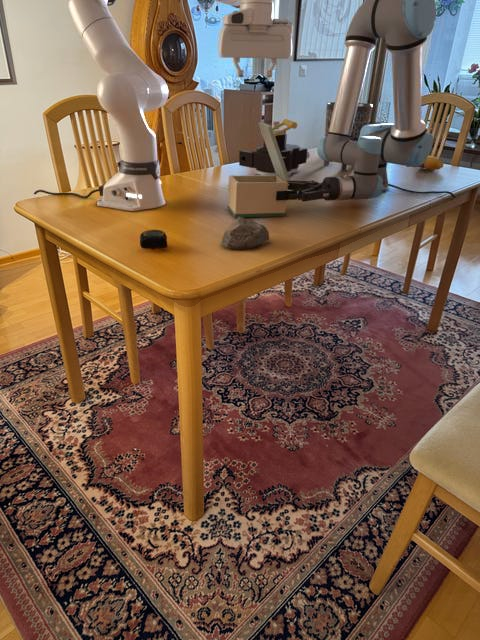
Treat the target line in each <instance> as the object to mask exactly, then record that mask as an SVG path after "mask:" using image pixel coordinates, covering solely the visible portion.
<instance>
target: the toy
mask: <svg viewBox="0 0 480 640" xmlns="http://www.w3.org/2000/svg"><path fill="white" fill-rule="evenodd" d="M444 165H445V164H444V163H443V162H441V161H439V159H438V158H437V157H435V156H433V155H429V156H428V157H427V159H426V161H425V162H424V163H423V164H422V165H421V166H419V167H418V168H421V169H425V170H427V171H429V172H434V171H438V170H440V169H443V167H444Z"/></svg>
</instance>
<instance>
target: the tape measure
mask: <svg viewBox="0 0 480 640" xmlns="http://www.w3.org/2000/svg"><path fill="white" fill-rule="evenodd" d="M167 236H168V235H167V234H166V232H165V231H164V230H161V229H147V230H144V231H143V232H141V233H140V235H139V240H140V241H139V245H140V246H139V247H141V248H142V249H146V250H157V249H167V248H168V240H167V239H168V237H167Z"/></svg>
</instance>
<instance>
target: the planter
mask: <svg viewBox="0 0 480 640" xmlns="http://www.w3.org/2000/svg"><path fill="white" fill-rule="evenodd" d="M334 105H335V101H333V102H327V103H326V109H325V124H324V125H325V126H324V137H327V136H328V132H329V128H330V123H331V119H332V114H333V109H334ZM373 107H374V106H373V104H372V103H367V102H359V103H358V107H357V111H356V115H355V119H354V123H353V128H352V132H351V136H350V140H351V141H358V139H359V136H360V132H361V128H362V127H363V126H365V125H370V121H371V116H372V112H373ZM330 163H331V162H330V161H327V160H323V165H325V166H328V165H330ZM347 167H348V165H347V164H343V163H341V166H340V170H341V172H345V171H347Z"/></svg>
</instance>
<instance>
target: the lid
mask: <svg viewBox="0 0 480 640" xmlns="http://www.w3.org/2000/svg"><path fill="white" fill-rule="evenodd" d="M257 125H258V127H259V130H260V133H261V135H262V138H263V142H264V141H265V144H266V147H267V150H268V152H269V155H270V158H271V161H272V163H273V166H274V169H275V172H276V174H277V175H278V176H279V177H281V178H282V179H284V180H286V181H288V180H291V179H290V175H288V173H287V170H286V167H285V164H284V161H283V158H282V155H281V153H280V150H279V147H278V144H277V141H276V138H275V136H277V135H279V134H281V133H283V132H285V131H287V132H288V131H290V130H291V129H294V130H295V129H297V127H298V123H297V122H296V121H293V120H291V119H290V120H289V119H288V118H283V120H282V122H280V123H279V124H278V125H277V126H275V127H273V128H272V125H270V124H268V123H265V122H263V121H259V122H258V123H257ZM282 126H286V127H283V128H284V129H282V130H280V131H279V132H277V133H275V134H274V132H273V130H275V129H277V128H282Z"/></svg>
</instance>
